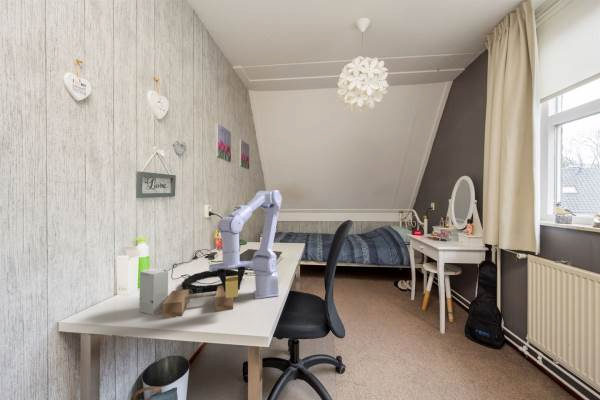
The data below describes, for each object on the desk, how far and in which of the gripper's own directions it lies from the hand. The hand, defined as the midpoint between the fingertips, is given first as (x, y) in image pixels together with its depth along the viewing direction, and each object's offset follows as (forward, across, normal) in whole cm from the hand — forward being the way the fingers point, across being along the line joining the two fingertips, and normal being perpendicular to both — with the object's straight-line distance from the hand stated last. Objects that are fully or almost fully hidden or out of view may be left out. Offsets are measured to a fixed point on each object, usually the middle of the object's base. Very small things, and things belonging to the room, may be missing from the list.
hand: (232, 289), depth 82 cm
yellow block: (+1, 0, 0) cm, 1 cm away
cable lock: (+9, -10, +34) cm, 36 cm away
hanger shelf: (+8, -12, +10) cm, 17 cm away
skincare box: (+9, -28, +12) cm, 32 cm away
